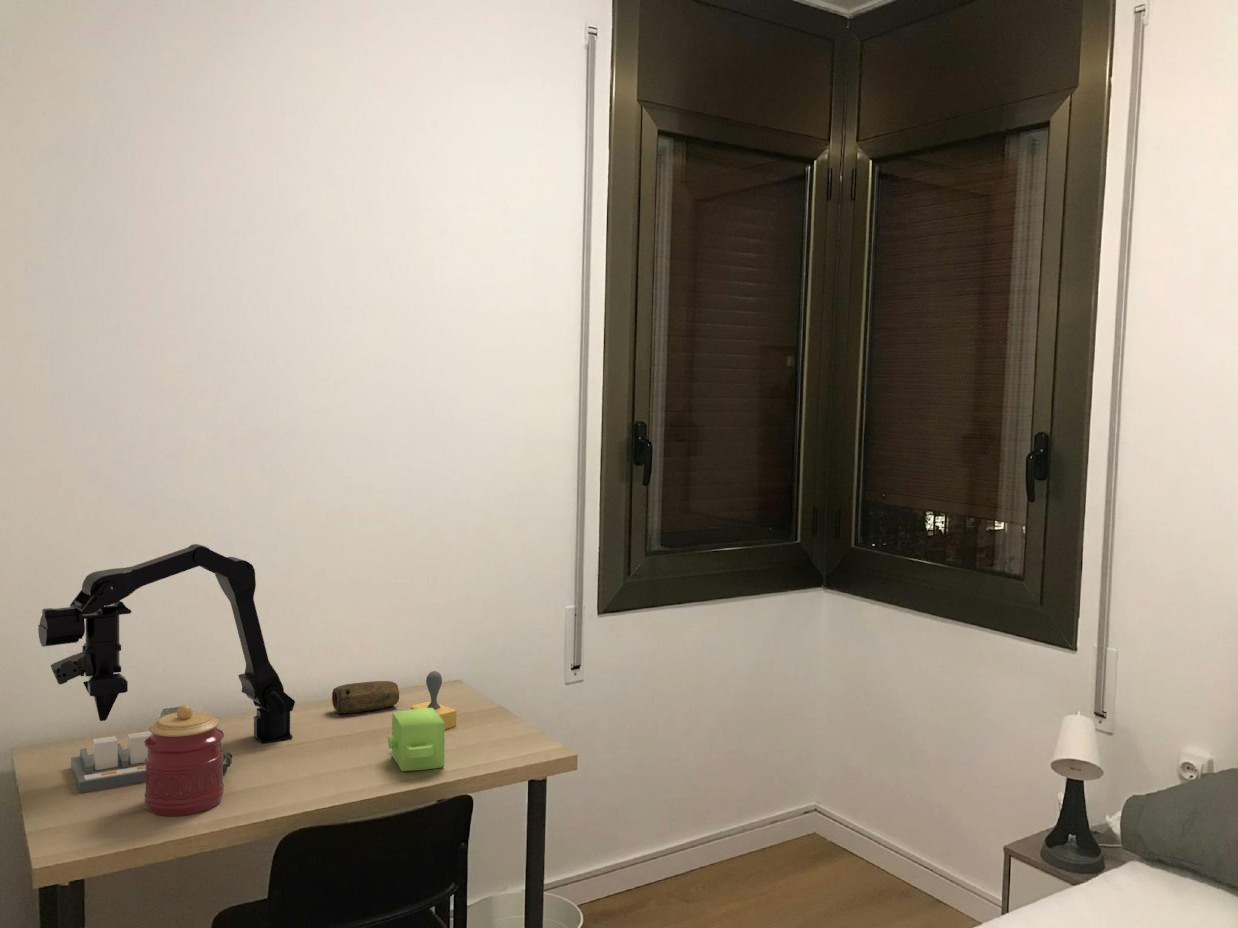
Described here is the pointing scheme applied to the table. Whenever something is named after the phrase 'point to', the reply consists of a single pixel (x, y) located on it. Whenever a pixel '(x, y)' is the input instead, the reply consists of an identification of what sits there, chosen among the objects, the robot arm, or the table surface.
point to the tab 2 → (137, 747)
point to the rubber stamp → (434, 686)
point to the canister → (184, 763)
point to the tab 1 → (105, 753)
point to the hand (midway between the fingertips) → (102, 720)
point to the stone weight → (364, 696)
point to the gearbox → (417, 739)
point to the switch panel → (106, 772)
